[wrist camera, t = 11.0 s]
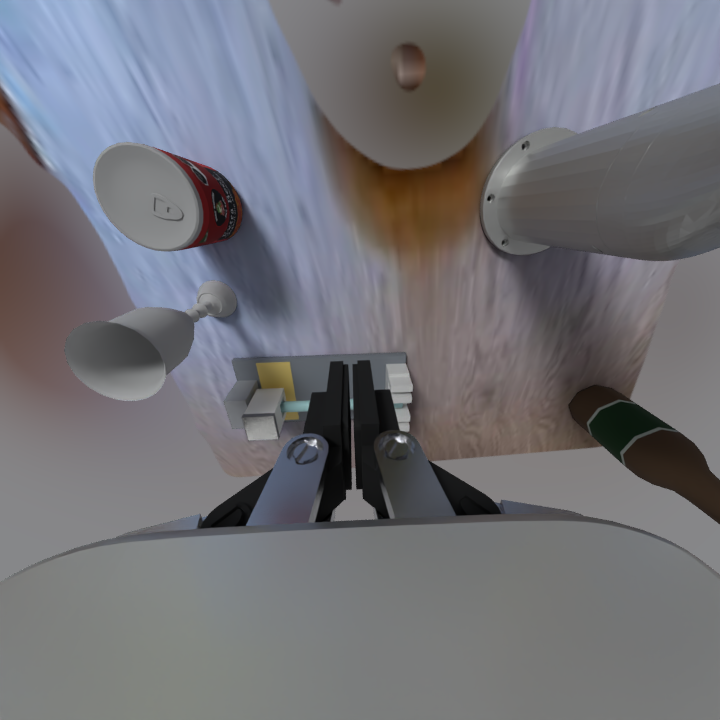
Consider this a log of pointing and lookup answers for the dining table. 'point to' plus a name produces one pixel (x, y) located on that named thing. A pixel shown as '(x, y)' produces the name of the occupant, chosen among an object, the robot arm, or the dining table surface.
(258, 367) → the cable rig
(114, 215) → the canned food
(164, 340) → the chalice
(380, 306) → the dining table surface
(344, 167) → the dining table surface
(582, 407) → the beer bottle
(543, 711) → the robot arm
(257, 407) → the sleeve
